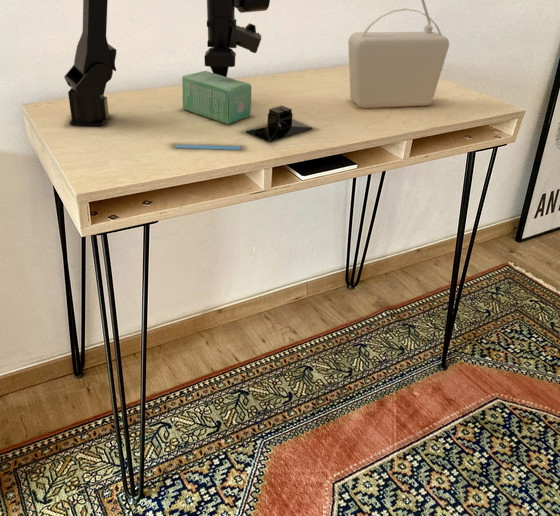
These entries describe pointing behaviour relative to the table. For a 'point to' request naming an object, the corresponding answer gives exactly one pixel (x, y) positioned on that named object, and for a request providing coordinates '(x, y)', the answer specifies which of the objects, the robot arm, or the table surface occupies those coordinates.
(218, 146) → the tape line
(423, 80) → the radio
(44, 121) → the table surface
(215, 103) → the box
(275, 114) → the black stand
